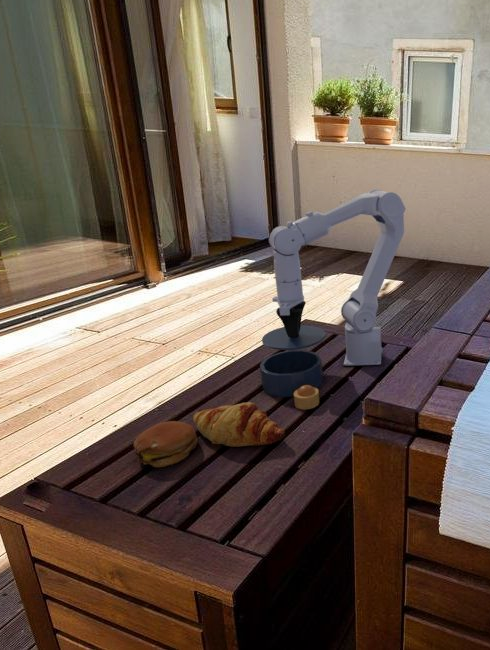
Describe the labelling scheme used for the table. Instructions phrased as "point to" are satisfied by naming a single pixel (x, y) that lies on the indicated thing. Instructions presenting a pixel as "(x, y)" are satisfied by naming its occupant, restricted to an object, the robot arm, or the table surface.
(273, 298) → the robot arm
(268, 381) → the pot
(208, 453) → the table surface
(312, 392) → the ball in tan cup
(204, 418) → the croissant
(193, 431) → the burger
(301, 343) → the lid
